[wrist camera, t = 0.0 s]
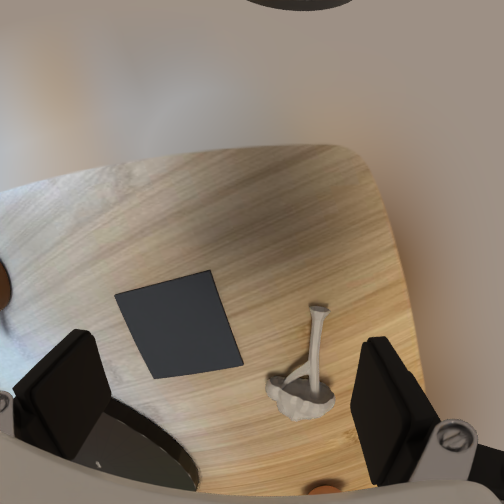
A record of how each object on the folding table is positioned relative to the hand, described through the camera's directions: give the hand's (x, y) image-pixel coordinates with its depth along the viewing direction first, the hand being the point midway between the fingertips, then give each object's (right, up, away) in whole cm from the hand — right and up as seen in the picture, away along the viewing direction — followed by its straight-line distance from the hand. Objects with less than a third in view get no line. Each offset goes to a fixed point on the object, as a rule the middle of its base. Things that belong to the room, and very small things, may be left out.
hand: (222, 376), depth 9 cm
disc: (-21, -27, +25) cm, 43 cm away
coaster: (-6, -3, +18) cm, 19 cm away
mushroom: (+6, -6, +19) cm, 20 cm away
